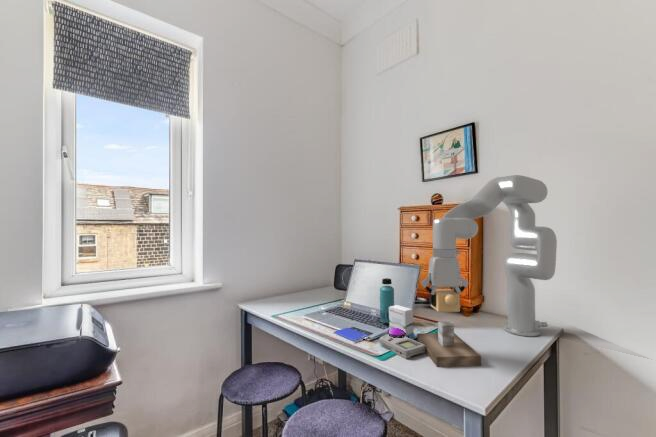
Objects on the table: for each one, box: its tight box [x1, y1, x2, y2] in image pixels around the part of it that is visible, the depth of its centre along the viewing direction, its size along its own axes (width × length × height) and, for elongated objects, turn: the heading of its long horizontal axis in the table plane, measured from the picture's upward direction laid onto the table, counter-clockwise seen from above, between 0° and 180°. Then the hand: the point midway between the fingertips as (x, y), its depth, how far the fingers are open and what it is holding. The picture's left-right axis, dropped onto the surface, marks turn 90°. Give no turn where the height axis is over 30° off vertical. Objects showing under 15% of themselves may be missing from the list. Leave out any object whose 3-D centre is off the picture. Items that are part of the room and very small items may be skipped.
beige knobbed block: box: [430, 288, 461, 313], centre depth 106 cm, size 10×7×6 cm
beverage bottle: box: [379, 278, 395, 324], centre depth 137 cm, size 6×7×20 cm
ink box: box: [388, 304, 415, 340], centre depth 121 cm, size 9×5×12 cm, turn 35°
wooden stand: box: [416, 320, 482, 368], centre depth 107 cm, size 14×20×10 cm
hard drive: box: [333, 327, 369, 344], centre depth 124 cm, size 2×8×12 cm
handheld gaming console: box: [379, 333, 426, 360], centre depth 111 cm, size 9×4×15 cm
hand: (444, 305), depth 107 cm, fingers closed on beige knobbed block, 7 cm apart
